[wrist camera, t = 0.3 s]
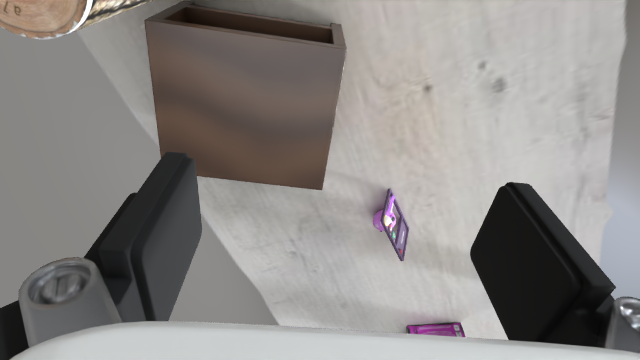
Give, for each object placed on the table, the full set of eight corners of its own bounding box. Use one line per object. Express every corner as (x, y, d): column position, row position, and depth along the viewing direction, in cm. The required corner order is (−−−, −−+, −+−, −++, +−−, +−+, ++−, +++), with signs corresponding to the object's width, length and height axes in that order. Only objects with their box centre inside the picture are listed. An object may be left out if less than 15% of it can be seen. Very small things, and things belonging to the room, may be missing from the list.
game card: (408, 261, 55) (387, 220, 50) (376, 262, 57) (353, 223, 53) (413, 228, 59) (395, 187, 55) (383, 230, 62) (363, 192, 58)
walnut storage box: (183, 0, 41) (144, 19, 32) (341, 24, 42) (347, 49, 33) (191, 128, 50) (162, 172, 41) (321, 144, 51) (322, 190, 42)
